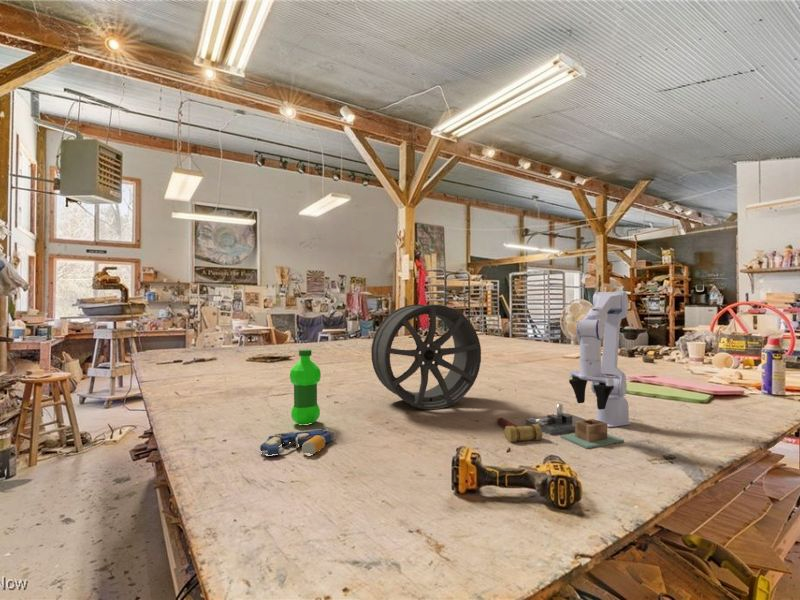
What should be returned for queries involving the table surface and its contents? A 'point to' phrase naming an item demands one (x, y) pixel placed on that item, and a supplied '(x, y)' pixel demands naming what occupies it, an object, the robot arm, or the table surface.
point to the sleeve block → (591, 430)
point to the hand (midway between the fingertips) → (590, 405)
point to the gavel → (520, 431)
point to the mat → (593, 444)
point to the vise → (555, 422)
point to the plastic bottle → (305, 389)
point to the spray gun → (298, 441)
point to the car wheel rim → (429, 356)
